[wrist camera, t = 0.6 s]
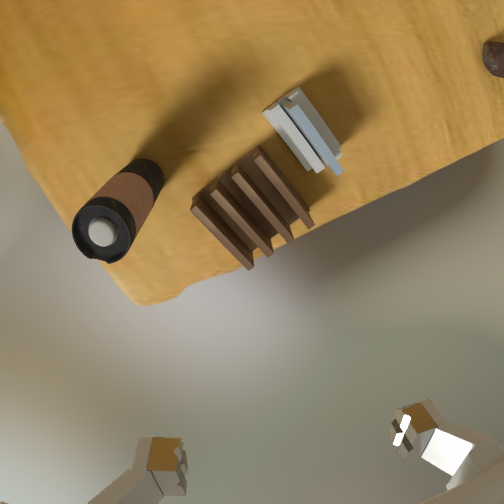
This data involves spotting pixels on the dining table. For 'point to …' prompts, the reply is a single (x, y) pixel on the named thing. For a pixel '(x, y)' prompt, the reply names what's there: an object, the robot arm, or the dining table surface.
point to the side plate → (311, 136)
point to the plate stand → (295, 137)
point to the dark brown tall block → (494, 58)
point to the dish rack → (250, 207)
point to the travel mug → (117, 212)
